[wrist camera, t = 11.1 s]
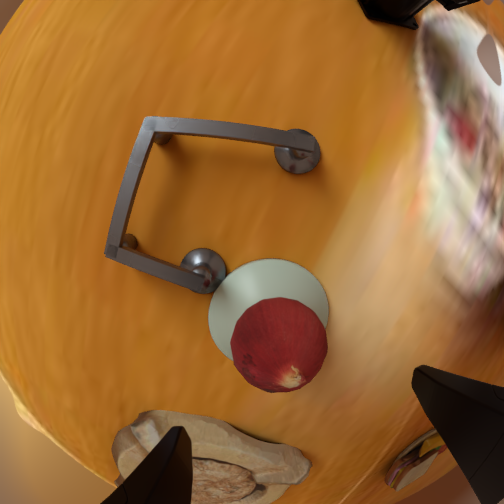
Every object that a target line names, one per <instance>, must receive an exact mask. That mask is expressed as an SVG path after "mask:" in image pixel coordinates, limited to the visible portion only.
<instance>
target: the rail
mask: <svg viewBox="0 0 504 504" xmlns="http://www.w3.org/2000/svg"><path fill="white" fill-rule="evenodd" d="M172 134H174V135H189V136H201V137H211V138H220V139H229V140H237V141H244V142H252V143H258V144H265V145H271V146H275V148H274V153H275V158H276V160H277V162H278V164H279V165H280V166H281V167H282V168H283V169H284V170H286V171H288V172H290V173H294V174H302V173H306V172H308V171H310V170H312V169H313V168H314V167H315V166H316V165H317V163H318V161H319V159H320V147H319V144H318V142H317V140H316V139H315V137H314V136H313V135H311V134H310V133H309V132H307V131H305V130H301V129H291V130H288V131H284V130H278V129H273V128H267V127H260V126H254V125H247V124H240V123H232V122H223V121H213V120H203V119H189V118H172V117H157V116H152V117H146V118H145V119H144V121H143V124H142V126H141V129H140V131H139V134H138V137H137V139H136V142H135V145H134V147H133V150H132V153H131V156H130V159H129V162H128V165H127V168H126V171H125V174H124V177H123V180H122V184H121V187H120V191H119V194H118V198H117V201H116V205H115V209H114V212H113V216H112V220H111V225H110V229H109V233H108V238H107V242H106V247H105V252H104V254H106V256H105V257H107V258H110V259H112V260H115V261H117V262H120V263H122V264H125V265H127V266H130V267H132V268H135V269H137V270H140V271H142V272H145V273H148V274H150V275H153V276H156V277H158V278H161V279H164V280H166V281H169V282H172V283H175V284H177V285H180V286H183V287H186V288H189V289H190V290H192V291H194V292H196V293H201V294H206V293H211V292H213V291H215V290H216V289H217V288H218V287H219V286H220V284H221V283H222V282H223V281H224V278H225V273H226V269H225V264H224V261H223V260H222V258H221V257H220V255H219V254H217V253H216V252H215V251H213V250H211V249H207V248H198V249H194V250H192V251H191V252H189V253H188V254H187V255H186V256H185V257H184V259H183V260H182V262H181V265H180V266H177V265H174V264H171V263H169V262H166V261H163V260H160V259H158V258H155V257H152V256H150V255H147V254H144V253H142V252H139V251H136V248H137V240H136V238H135V236H133V235H132V234H126V230H127V226H128V222H129V218H130V214H131V211H132V207H133V204H134V200H135V197H136V193H137V190H138V187H139V184H140V180H141V177H142V174H143V171H144V168H145V165H146V162H147V159H148V157H149V154H150V151H151V148H152V146H153V143H154V142H155V143H157V144H160V145H163V144H166V143H167V142H169V141H170V139H171V137H172Z"/></svg>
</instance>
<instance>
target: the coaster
mask: <svg viewBox="0 0 504 504" xmlns="http://www.w3.org/2000/svg"><path fill="white" fill-rule="evenodd" d="M276 297H284V298H288V299H293V300H298V301H299V302H301V303H303V304H304V305H306V306H307V307H309V308H310V309H312V310H313V311H314V312H315V313H316V315H317V316H318V318H319V319H320V321H321V322H322V324H323V325H324V328H325V329H326V326H327V322H328V315H329V306H328V300H327V297H326V294H325V291H324V289H323V287H322V286H321V284H320V283H319V281H318V280H317V279H316V278H315V277H314V276H313V275H312V274H311V273H310V272H309V271H308V270H306V269H305V268H304V267H302V266H300V265H298V264H296V263H294V262H291V261H288V260H284V259H277V258H266V259H259V260H255V261H251V262H248V263H246V264H244V265H242V266H240V267H238V268H236V269H235V270H233V271H232V272H231V273H229V274H228V275H227V276H226V277H225V278H224V281H223V282H222V283H221V284H220V286H219V287H218V288H217V289H216V290H215V292H214V294H213V297H212V299H211V303H210V307H209V315H208V321H209V328H210V333H211V335H212V338H213V340H214V342H215V344H216V345H217V347H218V348H219V349H220V350H221V351H222V352H223V354H224V355H226V356H227V357H228V358H229V359H231V360H233V356H232V351H231V345H230V341H231V338H232V334H233V331H234V328H235V325H236V322H237V320H238V319H239V318H240V317H241V315H242V314H243V313H244V312H245V310H246V309H247V308H249V307H251V306H252V305H254V304H256V303H257V302H259V301H261V300H262V299H269V298H276Z"/></svg>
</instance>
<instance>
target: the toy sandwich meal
mask: <svg viewBox="0 0 504 504" xmlns="http://www.w3.org/2000/svg"><path fill="white" fill-rule="evenodd" d="M446 448H447V446H446V444H445V443H444V441H443V439H442V438H441V436H440V435H439V433H438V432H437V430H436V429H433V430H431V431H429V432H427V433H426V434H424V435H423V436H421V437H420V438H418V439H417V440H416V441H414V442H413V443H412V444H411V445H409V446H408V447H407V448H406V449H405V450H404V451H403V452H402V453H401V454H400V455H399V456H398V457H397V458H396V460H395V461H394V463H393V465H392V467H391V468H390V469H389V471H388V472H387V474H386V476H385V483H386V484H387V485H389V486H390V487H391V488H394V489H395V491H399V490H400V489H402V488H403V487H405V486H406V485H408V484H410V483H411V482H413V481H414V480H416V479H417V478H419V477H420V476H422V475H423V474H424V473H425V472H426V471H427V470H428V468H429V467H430V465H431V463H432V462H433V460H434V458H436V456H437V455H438V454H440V453H442V452H443V451H444V450H445V449H446Z"/></svg>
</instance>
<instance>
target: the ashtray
mask: <svg viewBox="0 0 504 504" xmlns="http://www.w3.org/2000/svg"><path fill="white" fill-rule="evenodd" d="M173 426H183V427H184V428H185V429H186V431H187V433H188V435H189V437H190V439H191V442H192V462H193V485H192V498H191V504H270V503H271V502H273V501H275V500H276V499H278V498H279V497H280V496H282V495H283V494H284V492H285V491H286V490H287V489H288V488H289V486H290V485H292V484H295V485H298V484H300V483H302V482H303V481H304V480H305V479H306V478H307V477H308V475H309V471H310V468H311V467H312V466H313V465H312V462H311V461H310V460H308V459H306V458H305V457H304V456H303V455H302V453H301V451H300V450H299V449H298V448H296V447H292V446H289V445H286V444H272V443H267V442H263V441H259V440H257V439H254V438H252V437H250V436H247V435H245V434H243V433H241V432H240V431H238V430H236V429H235V428H233V427H232V426H231V425H229V424H228V423H226V422H225V421H222V420H219V419H215V418H212V417H206V416H200V415H192V414H185V413H179V412H174V411H164V410H151V411H147V412H142V413H140V414H139V416H138V418H137V419H136V420H135V421H134V422H133V423H132V424H130V425H128V426H126V427H124V428H123V429H121V430H120V431H118V433H117V435H116V437H115V439H114V442H113V445H112V454H113V457H114V460H115V463H116V465H117V467H118V469H119V472H120V475H119V477H118V478H117V479H116V480H115V481H114V482H115V484H116V486H117V487H119V486H120V484H123V481H124V480H125V479H126V478H127V477H128V476H129V475H130V474H131V473H132V472H133V471H134V469H135V468H136V467H137V466H138V465H139V464H140V463H141V462H142V461H143V459H144V458H145V457H146V456H147V455H148V454H149V453H150V452H151V450H152V449H153V448H154V447H155V446H156V445H157V444H158V442H159V441H160V440H161V439H162V438H163V437H164V435H165V434H166V433H167V432H168V431H169V430H170V428H171V427H173Z"/></svg>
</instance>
